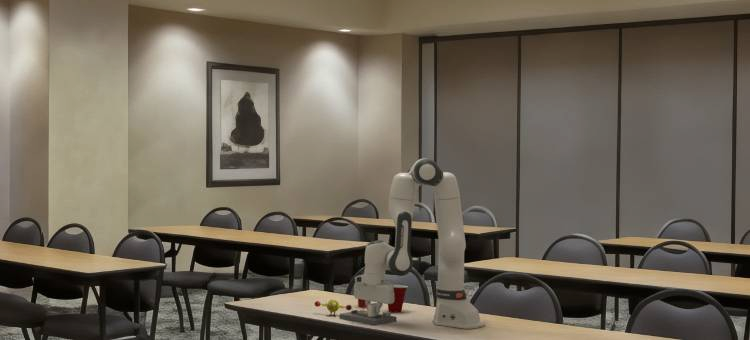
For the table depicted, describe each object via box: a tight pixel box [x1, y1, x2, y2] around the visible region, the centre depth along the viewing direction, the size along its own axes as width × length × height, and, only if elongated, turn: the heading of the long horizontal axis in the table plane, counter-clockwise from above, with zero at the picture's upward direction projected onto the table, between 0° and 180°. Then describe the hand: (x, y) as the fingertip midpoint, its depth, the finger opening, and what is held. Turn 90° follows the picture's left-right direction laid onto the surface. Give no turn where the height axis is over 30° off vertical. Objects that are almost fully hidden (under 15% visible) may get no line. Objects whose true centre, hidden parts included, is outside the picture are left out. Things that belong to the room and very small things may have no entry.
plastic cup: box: [387, 284, 409, 313], centre depth 425 cm, size 11×11×12 cm
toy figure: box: [314, 299, 353, 317], centre depth 410 cm, size 18×6×7 cm, turn 64°
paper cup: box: [357, 299, 372, 309], centre depth 435 cm, size 8×8×14 cm
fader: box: [368, 302, 380, 317], centre depth 399 cm, size 2×5×5 cm, turn 138°
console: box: [339, 309, 397, 326], centre depth 402 cm, size 20×14×4 cm
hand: (373, 311), depth 399 cm, fingers open, 3 cm apart
